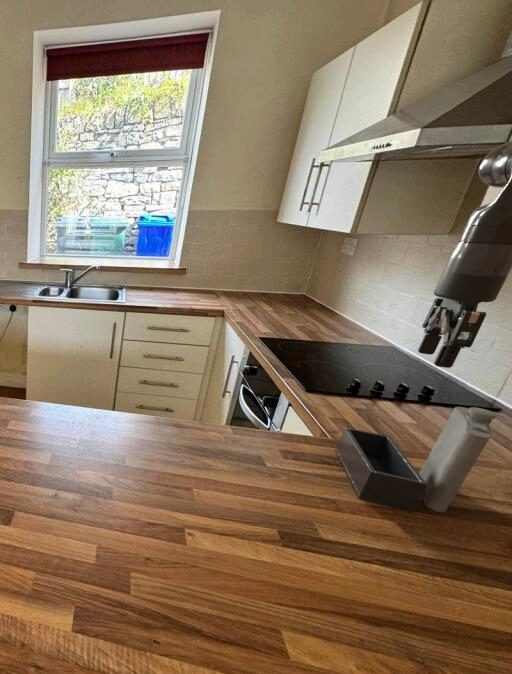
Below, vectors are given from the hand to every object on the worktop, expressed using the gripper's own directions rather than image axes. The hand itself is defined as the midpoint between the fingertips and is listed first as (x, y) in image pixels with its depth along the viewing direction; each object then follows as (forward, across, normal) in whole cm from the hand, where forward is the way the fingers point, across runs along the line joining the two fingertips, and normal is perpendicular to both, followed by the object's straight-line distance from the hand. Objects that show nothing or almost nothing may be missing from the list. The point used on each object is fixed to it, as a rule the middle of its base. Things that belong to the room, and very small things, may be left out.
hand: (433, 359), depth 75 cm
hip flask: (+30, +5, -11) cm, 32 cm away
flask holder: (+30, +4, 0) cm, 30 cm away
